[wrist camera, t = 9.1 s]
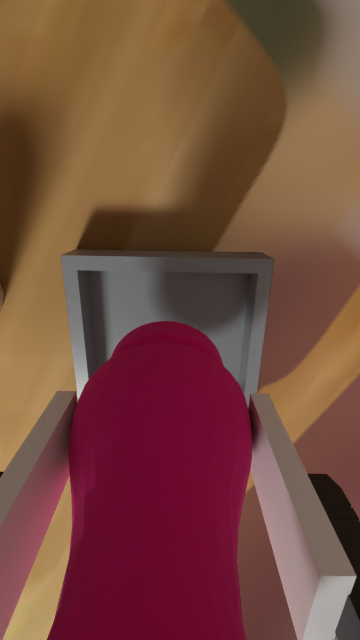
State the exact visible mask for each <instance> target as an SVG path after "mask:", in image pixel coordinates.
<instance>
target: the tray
mask: <svg viewBox="0 0 360 640" xmlns="http://www.w3.org/2000/svg"><path fill="white" fill-rule="evenodd" d="M61 261H62V269H63V278H64V286H65V294H66V303H67V311H68V319H69V327H70V336H71V344H72V352H73V360H74V369H75V377H76V385H77V394H78V400H79V397H80V395H81V393H82V391H83V388H84V386H85V384H86V383H87V382H88V380H89V379H90V377H91V376H92V375H93V374H94V373H95V371H96V370H97V369H98V368H99V367H100V366H101V365H102V364H103V363H105V362H106V361H108V360H109V359H110V358H111V356H112V353H113V351H114V349H115V347H116V346H117V345H118V343H119V342H120V341H121V340H122V338H123V337H124V336H126V335H127V334H128V333H129V332H131V331H132V330H134V329H136V328H137V327H139V326H142V325H144V324H148V323H151V322H158V321H175V322H179V323H183V324H187V325H189V326H192V327H194V328H196V329H198V330H199V331H201V332H202V333H204V334H205V335H206V336H207V337H208V338H209V339H210V340H211V341H212V342H213V343H214V344H215V346H216V348H217V349H218V351H219V353H220V356H221V359H222V362H223V366H224V367H225V368H226V369H227V370H228V371H230V373H231V374H232V375H233V377H234V378H235V379H236V381H237V382H238V384H239V385H240V387H241V389H242V391H243V393H244V395H245V398H246V402H247V406H248V407H249V399H250V394H257V387H258V380H259V372H260V364H261V357H262V349H263V341H264V334H265V326H266V318H267V311H268V303H269V295H270V287H271V280H272V272H273V265H274V259H273V258H271V257H269V256H267V255H265V254H264V253H253V252H199V251H146V250H93V249H75V250H72V251H70V252H68V253H65V254H63V255H61Z"/></svg>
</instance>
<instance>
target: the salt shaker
mask: <svg viewBox="0 0 360 640" xmlns="http://www.w3.org/2000/svg"><path fill="white" fill-rule="evenodd" d="M3 301H4V294H3V289H2V286H1V283H0V310H1V308H2V305H3Z"/></svg>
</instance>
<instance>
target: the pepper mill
mask: <svg viewBox="0 0 360 640" xmlns="http://www.w3.org/2000/svg"><path fill="white" fill-rule="evenodd" d="M252 441H253V432H252V426H251V419H250V415H249V410H248V406H247V402H246V398H245V395H244V393H243V391H242V389H241V387H240V385H239V384H238V382H237V381H236V379H235V378H234V377H233V375H232V374H231V373H230V371H228V370H227V369H226V368H225V367H224V366H223V362H222V359H221V356H220V353H219V351H218V349H217V348H216V346H215V344H214V343H213V342H212V341H211V340H210V339H209V338H208V337H207V336H206V335H205V334H204V333H202V332H201V331H199V330H198V329H196V328H194V327H192V326H189V325H187V324H183V323H179V322H175V321H158V322H151V323H148V324H144V325H142V326H139V327H137V328H136V329H134V330H132V331H131V332H129V333H128V334H127V335H126V336H124V337H123V338H122V340H121V341H120V342H119V343H118V345H117V346H116V347H115V349H114V351H113V353H112V356H111V358H110V359H109V360H108V361H106V362H105V363H103V364H102V365H101V366H100V367H99V368H98V369H97V370H96V371H95V373H94V374H93V375H92V376H91V377H90V379H89V380H88V382H87V383H86V384H85V386H84V388H83V391H82V393H81V395H80V397H79V400H78V403H77V406H76V408H75V411H74V414H73V418H72V422H71V429H70V439H69V451H68V460H69V471H70V483H71V494H72V533H71V544H70V554H69V561H68V565H67V569H66V573H65V577H64V581H63V586H62V590H61V594H60V598H59V602H58V606H57V610H56V615H55V619H54V622H53V625H52V628H51V630H50V633H49V636H48V638H47V640H246V636H245V631H244V627H243V621H242V610H241V599H240V588H239V576H238V566H237V548H238V547H237V546H238V528H239V522H240V516H241V510H242V505H243V500H244V496H245V491H246V486H247V482H248V477H249V473H250V468H251V462H252Z"/></svg>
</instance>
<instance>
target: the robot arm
mask: <svg viewBox="0 0 360 640" xmlns="http://www.w3.org/2000/svg"><path fill="white" fill-rule="evenodd" d="M76 406H77V397H76V391H57V392H56V394H55V395H54V397H53V399H52V400H51V402H50V403H49V405H48V406H47V408H46V409H45V411H44V412H43V414H42V415H41V417H40V418H39V420H38V421H37V423H36V424H35V426H34V427H33V429H32V430H31V432H30V433H29V435H28V436H27V438H26V439H25V441H24V442H23V444H22V445H21V447H20V449H19V450H18V452H17V453H16V455H15V456H14V458H13V459H12V461H11V462H10V464H9V465H8V467H7V468H6V470H5V471H4V472H0V640H2V639H3V637H4V634H5V632H6V629H7V627H8V625H9V622H10V620H11V617H12V615H13V612H14V610H15V607H16V605H17V602H18V600H19V598H20V595H21V593H22V590H23V588H24V585H25V583H26V580H27V578H28V575H29V573H30V571H31V568H32V566H33V563H34V561H35V558H36V556H37V553H38V551H39V548H40V546H41V543H42V541H43V539H44V536H45V534H46V531H47V529H48V526H49V524H50V521H51V519H52V516H53V514H54V512H55V509H56V507H57V504H58V502H59V499H60V497H61V494H62V492H63V489H64V487H65V485H66V482H67V480H68V477H69V475H70V471H69V460H68V451H69V439H70V429H71V422H72V418H73V414H74V411H75V408H76ZM248 410H249V415H250V419H251V426H252V432H253V441H252V462H251V468H250V469H251V473H252V476H253V480H254V484H255V487H256V491H257V494H258V498H259V502H260V505H261V509H262V512H263V516H264V519H265V523H266V527H267V531H268V534H269V538H270V541H271V545H272V548H273V552H274V556H275V559H276V563H277V567H278V570H279V574H280V577H281V581H282V585H283V588H284V592H285V596H286V599H287V603H288V606H289V610H290V614H291V617H292V621H293V624H294V628H295V632H296V635H297V639H298V640H334V638H335V635H336V636H337V639H338V640H360V522H359V518H358V516H357V515H356V513H355V511H354V509H353V508H351V504H350V502H349V501H348V499H347V497H346V496H345V494H344V492H343V490H342V489H341V488H340V487H339V486H338V485H337V484H336V483H335V482H334V481H333V480H332V479H331V478H330V477H329V476H328V475H327V474H307V473H306V471H305V469H304V467H303V464H302V462H301V460H300V458H299V456H298V454H297V452H296V450H295V448H294V446H293V444H292V442H291V440H290V438H289V436H288V433H287V431H286V429H285V427H284V425H283V423H282V421H281V419H280V417H279V415H278V413H277V411H276V409H275V407H274V405H273V403H272V400H271V398H270V396H269V394H250V399H249V407H248Z"/></svg>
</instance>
